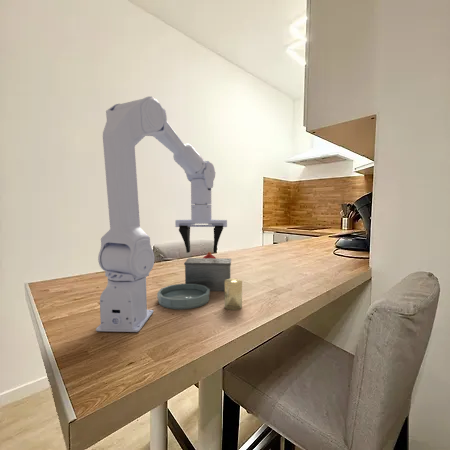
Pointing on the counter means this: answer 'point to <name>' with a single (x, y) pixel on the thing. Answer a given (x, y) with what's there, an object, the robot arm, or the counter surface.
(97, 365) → the counter surface
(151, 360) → the counter surface
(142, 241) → the robot arm
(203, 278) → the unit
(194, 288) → the plate
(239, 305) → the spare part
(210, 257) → the onion
